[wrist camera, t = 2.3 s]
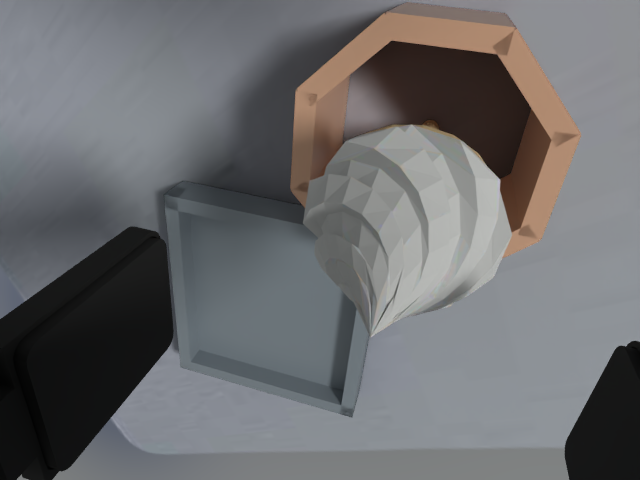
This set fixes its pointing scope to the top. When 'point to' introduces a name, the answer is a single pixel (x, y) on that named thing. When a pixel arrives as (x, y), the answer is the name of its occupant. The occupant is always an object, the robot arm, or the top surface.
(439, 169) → the ice cream cone
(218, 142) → the top surface
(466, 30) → the holder cup
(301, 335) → the slate tray
